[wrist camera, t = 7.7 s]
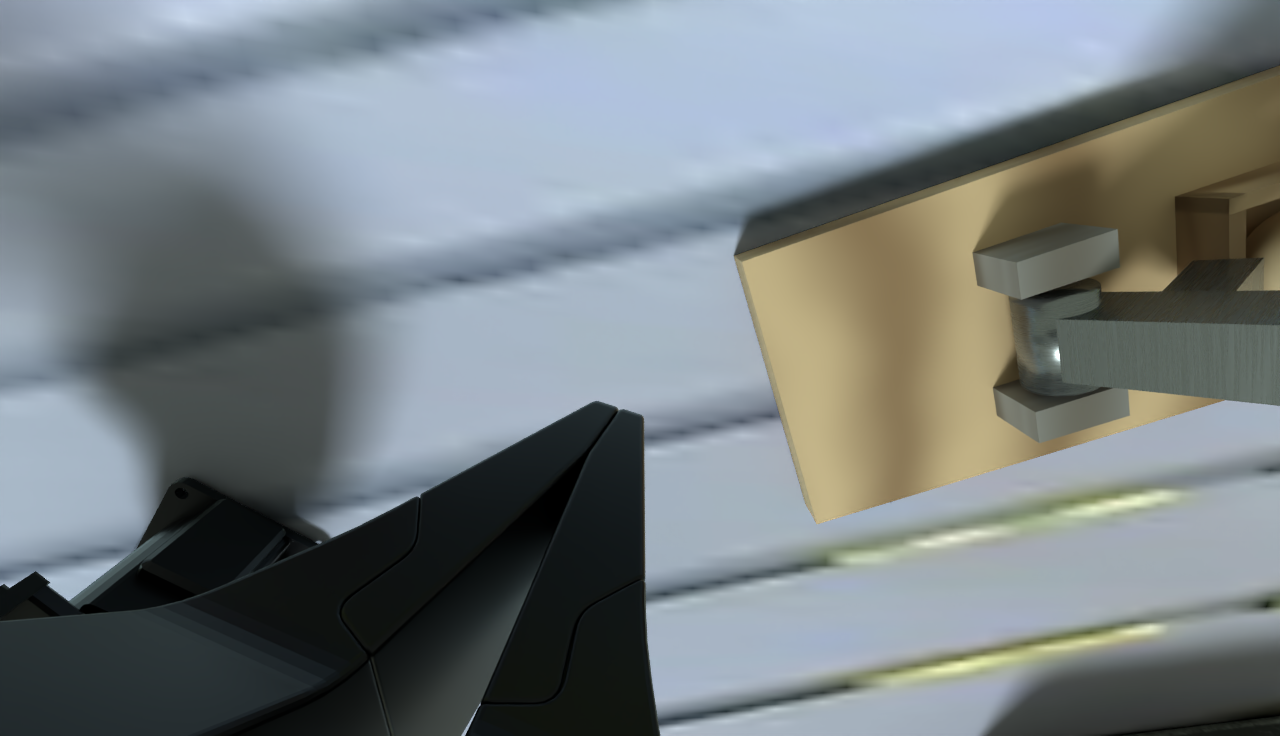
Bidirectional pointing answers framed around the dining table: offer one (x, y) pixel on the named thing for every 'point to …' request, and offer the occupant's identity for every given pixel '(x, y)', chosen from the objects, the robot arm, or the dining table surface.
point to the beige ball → (1267, 249)
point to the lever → (1156, 336)
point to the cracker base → (995, 295)
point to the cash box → (1226, 729)
